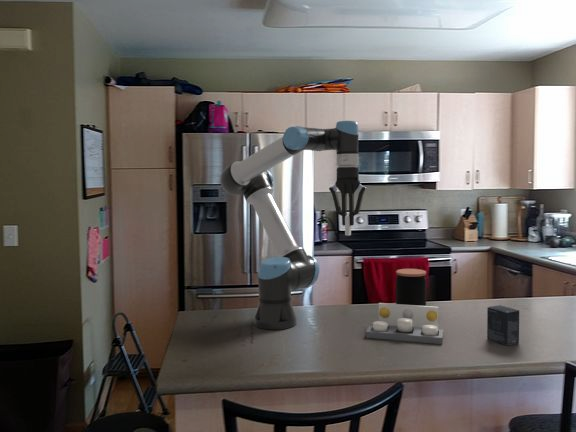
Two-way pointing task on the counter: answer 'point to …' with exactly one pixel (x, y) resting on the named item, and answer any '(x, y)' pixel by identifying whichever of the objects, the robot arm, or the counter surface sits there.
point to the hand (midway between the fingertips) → (348, 234)
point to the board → (405, 335)
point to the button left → (380, 326)
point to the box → (503, 325)
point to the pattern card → (408, 314)
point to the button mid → (404, 324)
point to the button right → (430, 330)
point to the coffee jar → (411, 287)
